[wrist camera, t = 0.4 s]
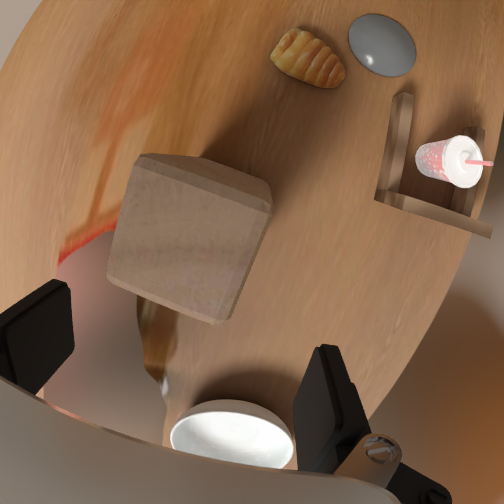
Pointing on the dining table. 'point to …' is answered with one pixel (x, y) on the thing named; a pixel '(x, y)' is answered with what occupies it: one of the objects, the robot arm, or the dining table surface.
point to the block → (189, 234)
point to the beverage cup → (452, 161)
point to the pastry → (308, 59)
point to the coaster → (382, 45)
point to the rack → (394, 168)
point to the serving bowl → (234, 433)
